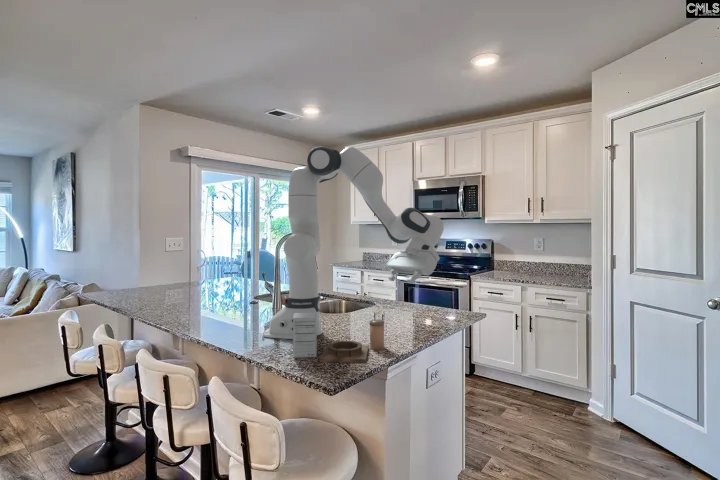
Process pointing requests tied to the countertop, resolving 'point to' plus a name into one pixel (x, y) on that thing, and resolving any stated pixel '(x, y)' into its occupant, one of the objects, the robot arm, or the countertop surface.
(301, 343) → the supplement box
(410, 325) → the countertop surface
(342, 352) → the jar stand
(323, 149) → the robot arm
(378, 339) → the spice jar
